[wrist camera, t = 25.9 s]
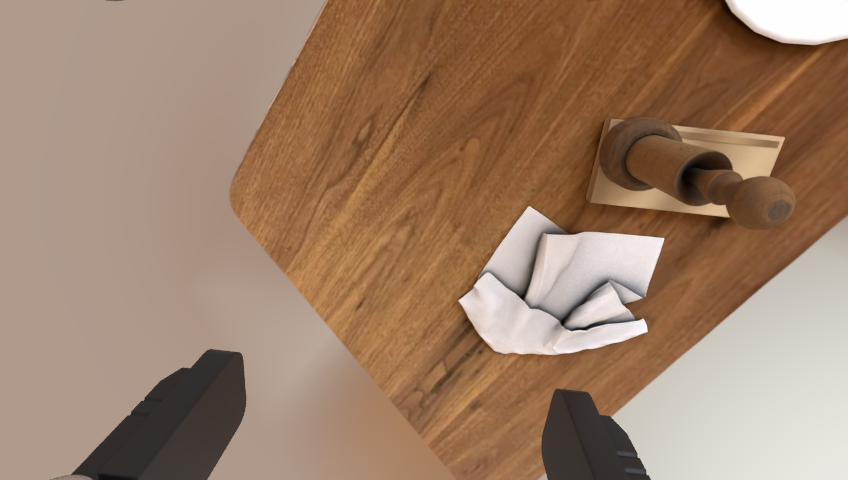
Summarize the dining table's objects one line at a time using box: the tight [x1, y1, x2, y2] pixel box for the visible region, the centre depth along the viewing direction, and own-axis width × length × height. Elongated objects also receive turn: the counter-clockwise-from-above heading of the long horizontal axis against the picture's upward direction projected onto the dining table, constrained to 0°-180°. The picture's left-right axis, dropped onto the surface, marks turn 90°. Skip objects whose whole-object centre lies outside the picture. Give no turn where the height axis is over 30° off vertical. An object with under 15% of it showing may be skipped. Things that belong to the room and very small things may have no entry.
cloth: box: [458, 206, 664, 355], centre depth 45 cm, size 20×22×2 cm
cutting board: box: [586, 118, 785, 218], centre depth 40 cm, size 16×8×2 cm, turn 84°
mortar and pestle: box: [599, 117, 795, 230], centre depth 30 cm, size 7×6×18 cm
